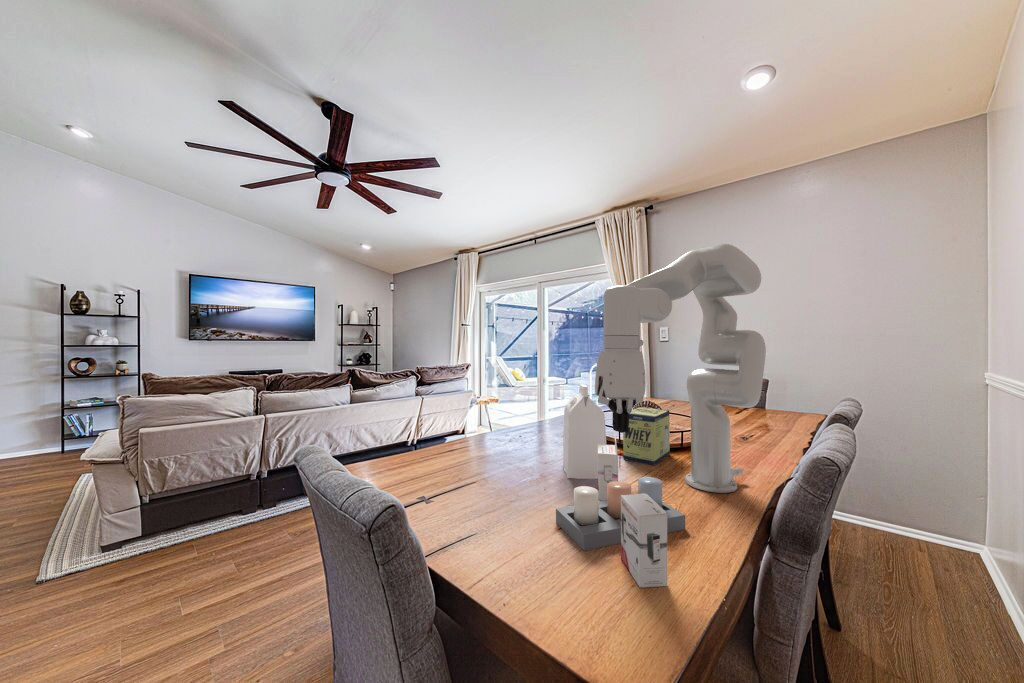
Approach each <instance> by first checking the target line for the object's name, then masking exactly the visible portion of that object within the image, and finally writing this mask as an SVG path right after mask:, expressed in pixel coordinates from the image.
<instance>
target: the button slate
mask: <svg viewBox="0 0 1024 683" xmlns="http://www.w3.org/2000/svg"><path fill="white" fill-rule="evenodd" d="M642 493H644V494H647V495H648V496H649V497H651V498H652V499H653V500H654V501H655V502H656V503H657V504H658V505H659V506H660V507H661V508H662V502H663V481H662V480H661V479H659V478H656V477H653V476H652V477H651V476H641V477H638V479H637V494H642Z"/></svg>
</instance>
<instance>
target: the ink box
mask: <svg viewBox="0 0 1024 683" xmlns="http://www.w3.org/2000/svg"><path fill="white" fill-rule="evenodd" d="M620 559H621V560H622V562H623V564H624V565H625V566H626V568H627V570H628V571H629V573H630V574H631V576H632V577H633V579H634V581H635V582H636V584H637V586H638V587H639V588H656V587H667V586H668V533H667V514H666V511H665V510H663V509H662V508H661V507H660V506H659V505H658V504H657V503H656V502H655V501H654V500H653V499H652V498H651V497H649V496H648V495H647V494H644V493H642V494H638V493H631V494H630V495H621V543H620Z"/></svg>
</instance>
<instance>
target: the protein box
mask: <svg viewBox="0 0 1024 683" xmlns="http://www.w3.org/2000/svg"><path fill="white" fill-rule="evenodd" d="M622 434H623V438H622V439H623V440H622V442H623V443H622V444H623V445H622V447H623V448H622V450H623V451H622V452H623V457H622V459H623V460H625V461H629V462H634V463H639V464H643V465H649V466H656V465H657V464H659V463H660V462H661V461H663V460H664V459H667V457H669V456H670V451H671V450H670V438H671V437H670V410H669V409H661V408H653V407H652V408H651V407H643V406H640V407H637V408H634V409H632V412H631V413H629V427H628V432H624V433H622Z"/></svg>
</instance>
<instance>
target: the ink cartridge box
mask: <svg viewBox="0 0 1024 683" xmlns="http://www.w3.org/2000/svg"><path fill="white" fill-rule="evenodd" d="M613 437H614V444H606V445H599V444H598V448H597V456H598V479H597V482H598V483H597V484H598V486H597V487H598V501H603V500H607V484H608V483H609V482H614V481H618V482H619V457H618V456H619V454H618V453H619V451H618V445H617V438H616V437H617V436H616V434H613Z"/></svg>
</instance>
